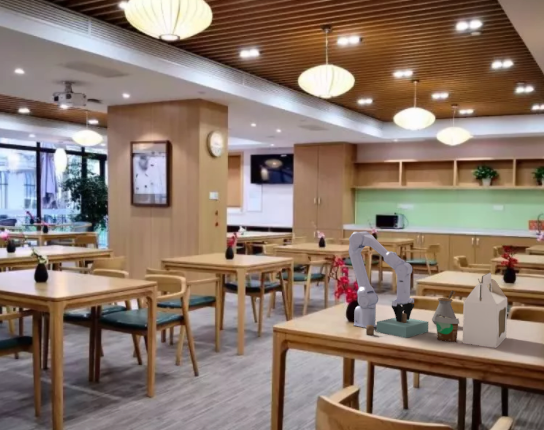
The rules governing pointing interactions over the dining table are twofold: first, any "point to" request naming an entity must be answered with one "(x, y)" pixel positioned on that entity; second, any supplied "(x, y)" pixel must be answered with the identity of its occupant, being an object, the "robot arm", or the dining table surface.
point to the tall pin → (404, 318)
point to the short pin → (370, 330)
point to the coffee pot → (444, 308)
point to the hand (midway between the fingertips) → (402, 320)
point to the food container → (446, 328)
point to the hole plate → (402, 327)
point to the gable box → (485, 314)
